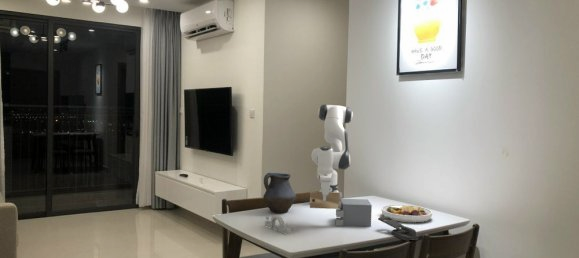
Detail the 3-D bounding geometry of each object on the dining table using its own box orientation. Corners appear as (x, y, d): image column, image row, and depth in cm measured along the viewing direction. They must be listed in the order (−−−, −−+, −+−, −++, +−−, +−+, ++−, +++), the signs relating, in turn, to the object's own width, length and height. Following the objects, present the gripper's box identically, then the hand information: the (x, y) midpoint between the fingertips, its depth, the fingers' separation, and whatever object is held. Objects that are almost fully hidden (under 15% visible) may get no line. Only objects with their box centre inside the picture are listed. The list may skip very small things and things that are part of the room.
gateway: (264, 226, 253) (265, 212, 252) (268, 226, 254) (268, 212, 254) (287, 235, 237) (287, 220, 237) (290, 234, 239) (290, 219, 238)
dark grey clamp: (388, 216, 256) (421, 226, 234) (388, 227, 256) (421, 239, 234) (376, 217, 252) (408, 228, 230) (375, 229, 252) (408, 241, 230)
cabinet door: (309, 207, 260) (310, 191, 260) (341, 208, 260) (341, 192, 259) (309, 208, 257) (310, 192, 256) (341, 209, 256) (342, 193, 256)
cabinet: (334, 218, 274) (334, 198, 274) (367, 219, 274) (367, 199, 273) (336, 225, 257) (336, 204, 256) (371, 227, 256) (372, 205, 255)
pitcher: (302, 213, 286) (303, 173, 284) (273, 217, 273) (274, 175, 271) (282, 206, 302) (283, 169, 301) (254, 210, 289) (255, 171, 288)
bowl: (373, 212, 293) (374, 200, 292) (417, 211, 299) (417, 200, 298) (393, 225, 263) (394, 211, 263) (441, 223, 270) (442, 210, 269)
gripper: (318, 172, 268) (318, 196, 269) (319, 178, 248) (319, 203, 249) (329, 173, 268) (328, 196, 269) (331, 178, 248) (330, 203, 248)
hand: (324, 199), depth 259 cm, fingers closed on cabinet door, 2 cm apart
